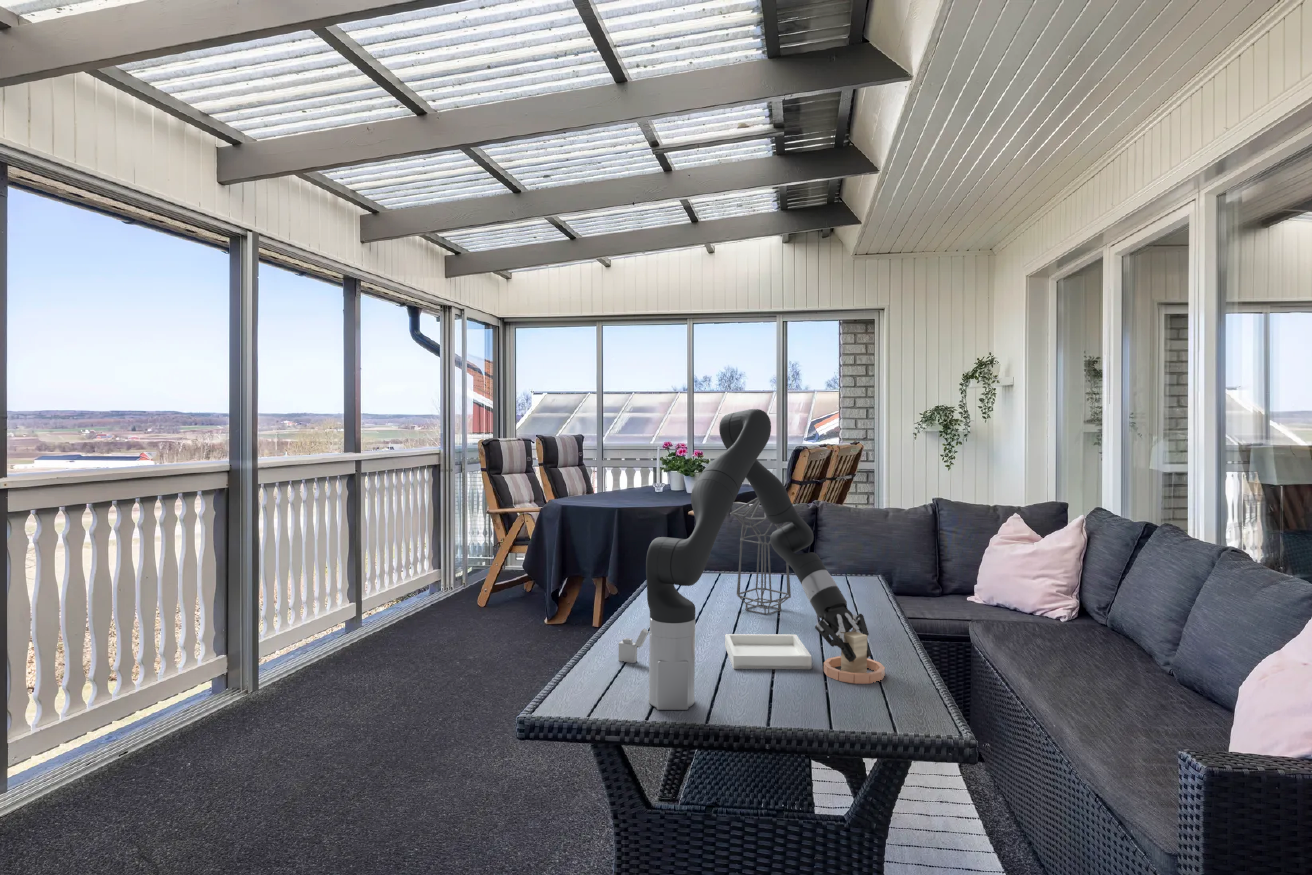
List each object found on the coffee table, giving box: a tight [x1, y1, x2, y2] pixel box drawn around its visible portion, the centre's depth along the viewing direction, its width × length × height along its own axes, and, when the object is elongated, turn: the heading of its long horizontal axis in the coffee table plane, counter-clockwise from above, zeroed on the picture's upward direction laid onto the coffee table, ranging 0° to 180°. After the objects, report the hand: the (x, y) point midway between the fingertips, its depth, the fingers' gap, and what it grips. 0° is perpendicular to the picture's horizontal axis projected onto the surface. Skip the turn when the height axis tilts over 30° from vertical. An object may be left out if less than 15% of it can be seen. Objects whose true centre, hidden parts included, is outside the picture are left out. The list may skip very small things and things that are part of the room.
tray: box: [724, 633, 813, 670], centre depth 188 cm, size 18×18×3 cm
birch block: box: [840, 630, 868, 673], centre depth 176 cm, size 4×4×9 cm
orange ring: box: [823, 655, 886, 685], centre depth 176 cm, size 13×13×2 cm
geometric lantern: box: [729, 496, 792, 615], centre depth 233 cm, size 16×16×35 cm
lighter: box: [618, 628, 650, 664], centre depth 183 cm, size 7×2×8 cm, turn 69°
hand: (860, 658), depth 174 cm, fingers closed on birch block, 4 cm apart
